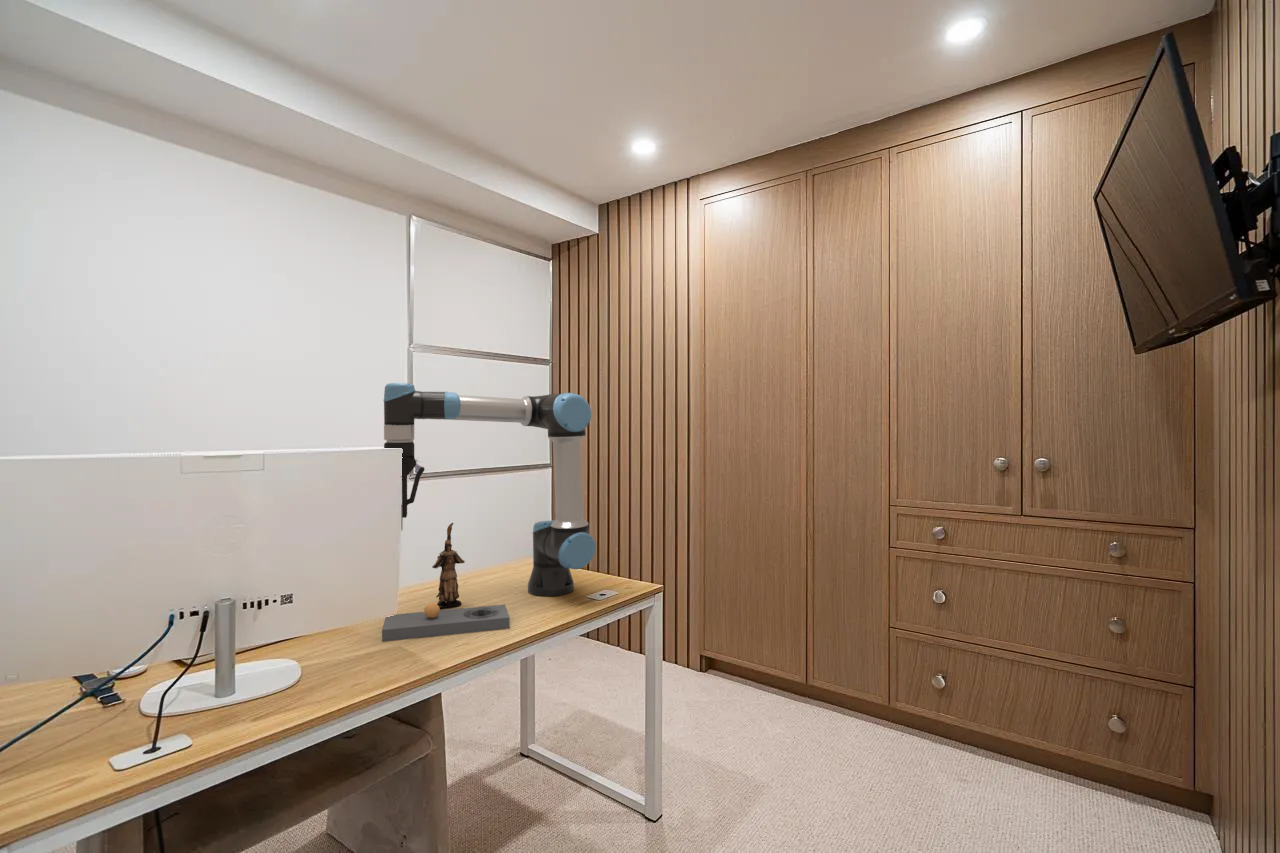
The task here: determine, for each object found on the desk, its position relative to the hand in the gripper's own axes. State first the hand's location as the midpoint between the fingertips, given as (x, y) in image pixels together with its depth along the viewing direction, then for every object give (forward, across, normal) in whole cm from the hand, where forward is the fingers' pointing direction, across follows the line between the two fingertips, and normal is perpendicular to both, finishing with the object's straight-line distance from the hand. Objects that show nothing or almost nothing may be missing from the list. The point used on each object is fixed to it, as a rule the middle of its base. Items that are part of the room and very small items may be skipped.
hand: (399, 530), depth 163 cm
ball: (+22, -8, 0) cm, 24 cm away
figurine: (+27, -12, -19) cm, 36 cm away
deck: (+27, -12, 0) cm, 30 cm away
